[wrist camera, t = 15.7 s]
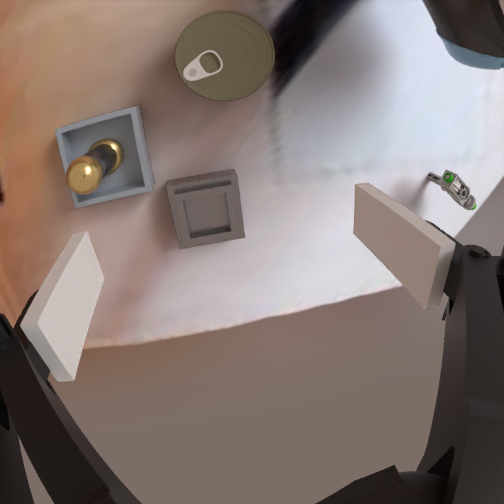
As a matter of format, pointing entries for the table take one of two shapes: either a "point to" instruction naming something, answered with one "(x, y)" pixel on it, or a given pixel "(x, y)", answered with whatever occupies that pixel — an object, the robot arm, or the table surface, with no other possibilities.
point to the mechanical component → (455, 188)
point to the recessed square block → (206, 208)
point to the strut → (94, 165)
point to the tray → (134, 145)
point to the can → (224, 55)
